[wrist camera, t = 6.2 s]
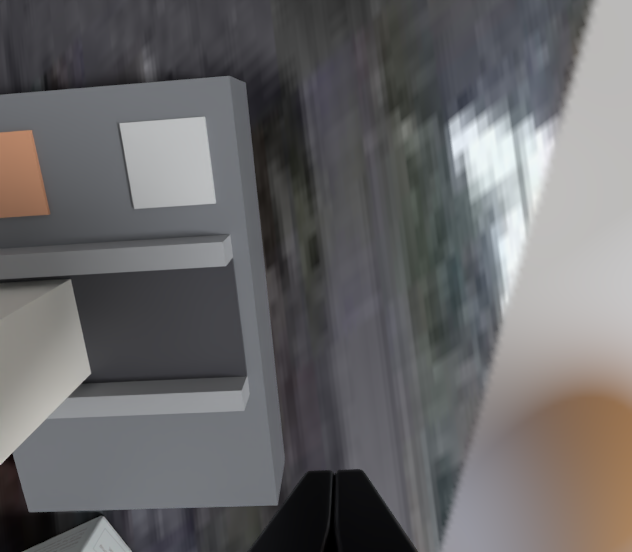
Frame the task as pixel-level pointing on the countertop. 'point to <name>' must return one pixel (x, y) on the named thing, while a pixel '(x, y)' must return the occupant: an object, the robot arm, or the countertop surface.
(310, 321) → the countertop surface
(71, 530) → the supplement box
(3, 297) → the switch tab
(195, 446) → the switch board
